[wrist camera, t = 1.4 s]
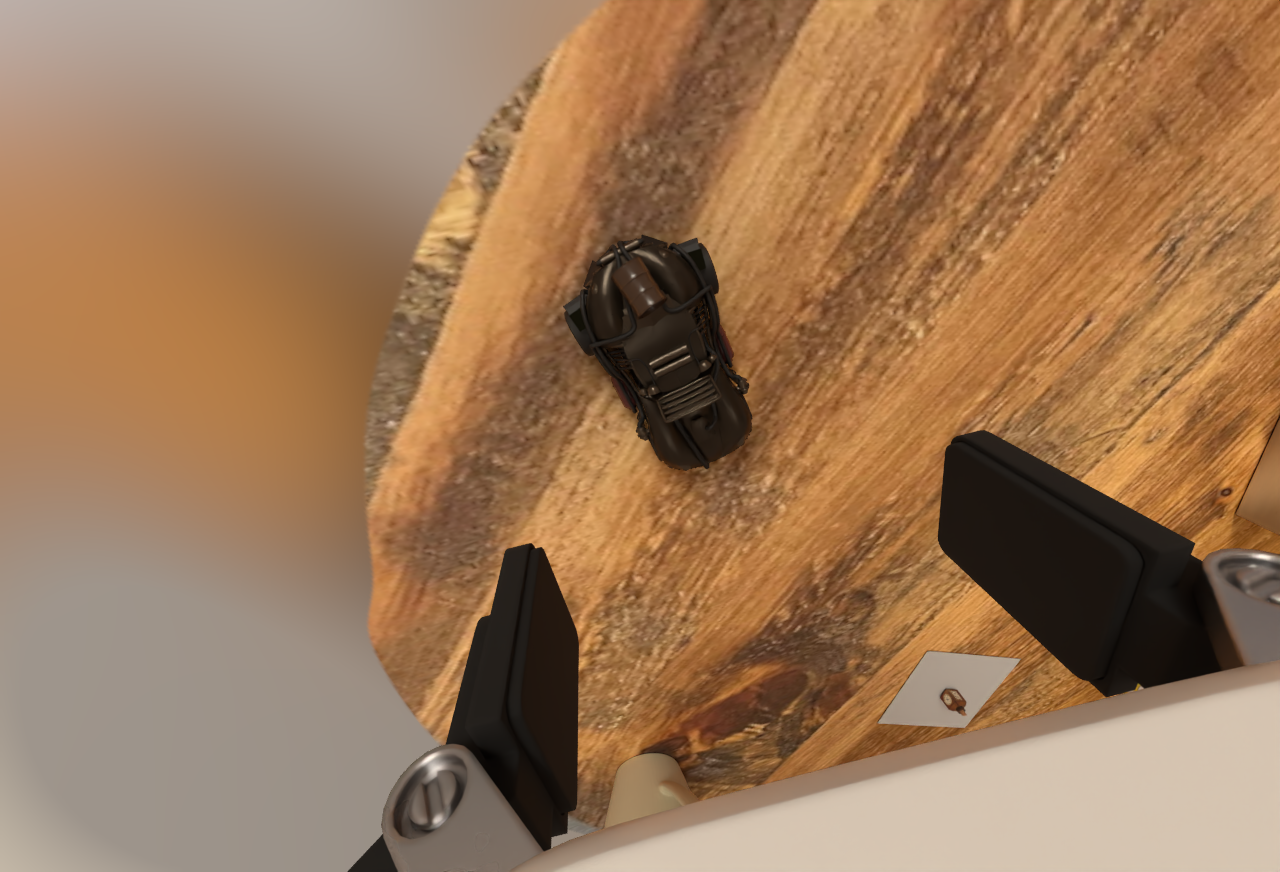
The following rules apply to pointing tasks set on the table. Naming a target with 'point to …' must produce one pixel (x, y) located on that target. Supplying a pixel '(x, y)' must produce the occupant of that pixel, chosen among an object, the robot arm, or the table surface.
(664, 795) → the mug
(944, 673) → the gray square plate
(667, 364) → the toy car
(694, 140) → the table surface
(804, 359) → the table surface
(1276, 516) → the birch block
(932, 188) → the table surface
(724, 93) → the table surface
